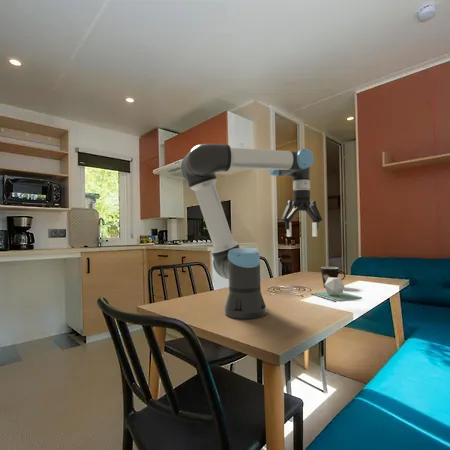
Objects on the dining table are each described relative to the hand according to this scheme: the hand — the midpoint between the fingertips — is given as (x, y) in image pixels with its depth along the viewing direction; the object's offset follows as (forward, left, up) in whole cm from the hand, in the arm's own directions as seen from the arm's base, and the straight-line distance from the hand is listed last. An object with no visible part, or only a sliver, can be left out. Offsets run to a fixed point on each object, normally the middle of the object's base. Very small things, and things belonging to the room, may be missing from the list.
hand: (302, 236), depth 130 cm
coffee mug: (+23, +8, -27) cm, 36 cm away
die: (+11, -7, -27) cm, 30 cm away
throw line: (+5, -7, -27) cm, 28 cm away
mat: (+13, -7, -27) cm, 30 cm away
